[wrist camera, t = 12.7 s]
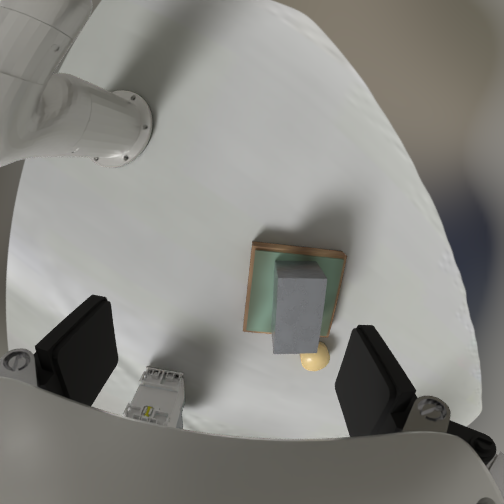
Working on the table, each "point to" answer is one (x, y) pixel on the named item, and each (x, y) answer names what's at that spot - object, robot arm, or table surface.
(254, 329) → the green board with frame
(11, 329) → the table surface
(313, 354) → the cream dome
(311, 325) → the block
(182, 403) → the circuit breaker
